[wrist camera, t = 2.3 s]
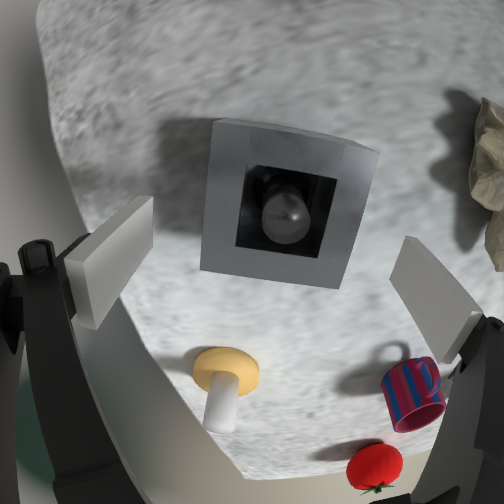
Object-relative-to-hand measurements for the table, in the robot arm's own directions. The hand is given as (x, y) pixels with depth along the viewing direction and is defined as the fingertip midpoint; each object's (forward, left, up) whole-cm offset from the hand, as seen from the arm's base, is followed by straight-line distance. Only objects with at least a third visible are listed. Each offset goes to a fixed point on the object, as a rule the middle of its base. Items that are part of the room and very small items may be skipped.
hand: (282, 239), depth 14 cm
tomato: (+42, +26, -8) cm, 50 cm away
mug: (+18, +20, -8) cm, 28 cm away
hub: (+20, -2, -8) cm, 21 cm away
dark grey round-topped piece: (0, 0, -8) cm, 8 cm away
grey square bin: (0, 0, -8) cm, 8 cm away
